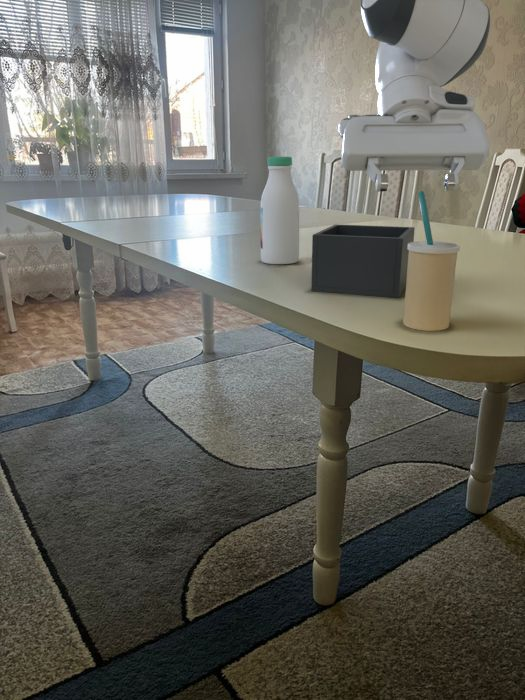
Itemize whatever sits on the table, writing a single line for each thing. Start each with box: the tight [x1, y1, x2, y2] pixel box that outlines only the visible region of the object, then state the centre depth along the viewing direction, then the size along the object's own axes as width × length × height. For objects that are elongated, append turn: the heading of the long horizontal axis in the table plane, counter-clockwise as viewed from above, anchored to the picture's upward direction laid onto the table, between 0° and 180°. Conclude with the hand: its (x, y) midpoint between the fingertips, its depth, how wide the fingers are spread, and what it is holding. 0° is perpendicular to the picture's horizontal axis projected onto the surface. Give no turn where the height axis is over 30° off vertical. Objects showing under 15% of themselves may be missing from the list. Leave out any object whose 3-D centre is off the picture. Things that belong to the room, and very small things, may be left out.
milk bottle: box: [259, 156, 300, 265], centre depth 106 cm, size 8×8×20 cm
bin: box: [310, 223, 416, 299], centre depth 88 cm, size 14×14×9 cm
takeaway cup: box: [402, 190, 461, 332], centre depth 66 cm, size 6×6×16 cm
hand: (416, 188), depth 74 cm, fingers open, 8 cm apart
